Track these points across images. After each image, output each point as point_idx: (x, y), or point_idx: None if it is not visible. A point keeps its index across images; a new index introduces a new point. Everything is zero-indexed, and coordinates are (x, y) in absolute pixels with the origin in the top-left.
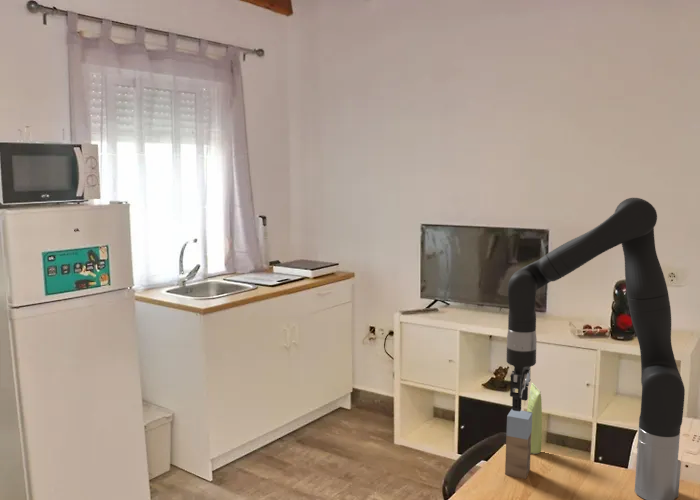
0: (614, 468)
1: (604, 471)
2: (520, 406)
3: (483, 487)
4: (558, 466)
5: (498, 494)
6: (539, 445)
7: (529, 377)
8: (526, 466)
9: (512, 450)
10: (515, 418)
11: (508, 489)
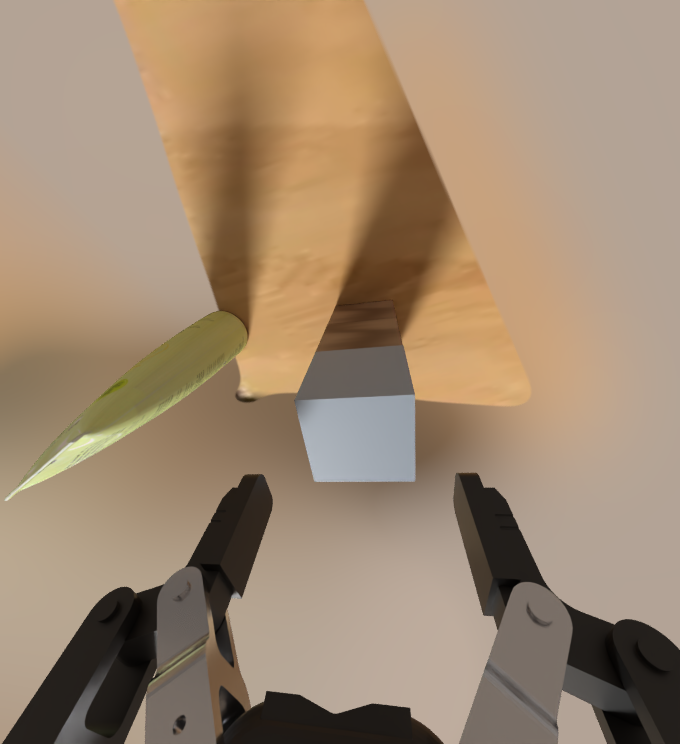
0: (138, 34)
1: (189, 69)
2: (487, 502)
3: (485, 374)
4: (264, 239)
5: (509, 335)
6: (219, 319)
7: (168, 728)
8: (392, 310)
9: None
10: (414, 446)
11: (471, 321)
